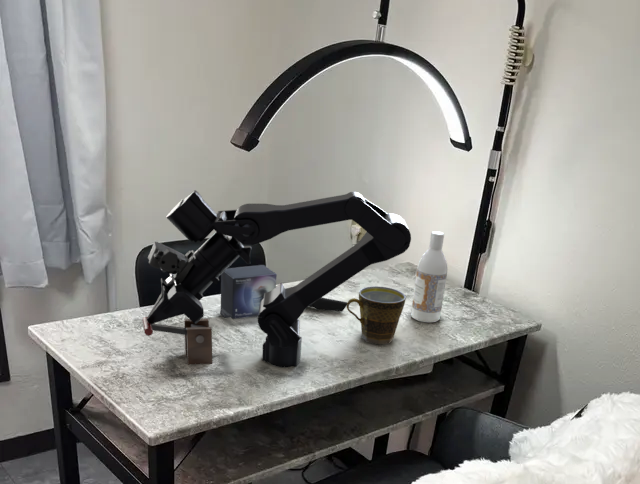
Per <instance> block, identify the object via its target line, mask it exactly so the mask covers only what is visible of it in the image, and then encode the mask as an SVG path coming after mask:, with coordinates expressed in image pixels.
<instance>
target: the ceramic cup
mask: <svg viewBox="0 0 640 484" xmlns="http://www.w3.org/2000/svg"><path fill="white" fill-rule="evenodd" d="M406 299H407V296H406V294H405V293H403V292H402V291H400V290H398V289H395V288H392V287H387V286H373V285H372V286H366V287H363V288H360V289H359V291H358V299H357V298H350V299H349V300H348V301H347V305H346V310H347V311H348V312H349V313H350V314H351V315H353V316H354V317H355V318H356V320H358V321H359V322H360V326H361V327H360V328H361V338H362V339H363V340H364V341H365V342H366V343H370V344H374V345H388V344H390V343H391V342H392V341H393V340H394V337H395V335H396V331H397V328H398V324H399V322H400V317H401V315H402V314H403V313H402V312H403V310H404V307H405V304H406ZM351 303H357V305H358V306H359V315H360V317H358V315H357V314H356V313H355V312H353V311H352V310H351V309H350V304H351Z"/></svg>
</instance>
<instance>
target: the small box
mask: <svg viewBox="0 0 640 484" xmlns="http://www.w3.org/2000/svg"><path fill="white" fill-rule="evenodd" d="M276 286H277V273H276V272H274V271H273V270H272V269H270V268H269V267H267V266H266V265H265V264H258V265H249V266H247V265H246V266H238V267H228V268H227V269H226V270H225V271H224V272H223V273H222V274H221V275H220V311H219V315H221V316H222V317H223V318H224V319H227V318H230V319H232V320H237V319H245V318H258V314H259V306H260V302H261V301H262V300H263V299H264V293H267V292H270V291H272V290H273V289H274V288H275V287H276Z"/></svg>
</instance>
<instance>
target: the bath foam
mask: <svg viewBox="0 0 640 484" xmlns="http://www.w3.org/2000/svg"><path fill="white" fill-rule="evenodd" d="M444 238H445V233H444V232H442V231H438V230H433V231H431V232H430V238H429V246H428V248H427V250H425V252H424V253H423V254H422V256H421V257H420V259H419V261H418V263H417V267H416V275H415V282H414V288H413V297H412V303H411V309H410V310H411V312H410V316H411V317H412V319H414V320H416V321H418V322H421V323H435V322H438V321H439V320H440V319H441V314H442V309H443V302H444V297H445V296H444V295H445V290H446V284H447V278H448V270H449V269H448V262H447V261H448V260H447V258H446V256H445V253H444V251H443V246H444V245H443V244H444V240H445V239H444Z"/></svg>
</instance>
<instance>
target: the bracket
mask: <svg viewBox="0 0 640 484" xmlns="http://www.w3.org/2000/svg"><path fill="white" fill-rule="evenodd" d="M209 323H210V320H209V318H202V319H201V320H199V321H198V322H197V323H194V322H193V321H191V320H190V319H189V318H184V319H183V328H187V335H184V355H185V357H186V358H187V365H188V366H192V365H212V364H213V329H212V326H210V324H209ZM191 324H196V325H203V326H206V327H190V325H191Z"/></svg>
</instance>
